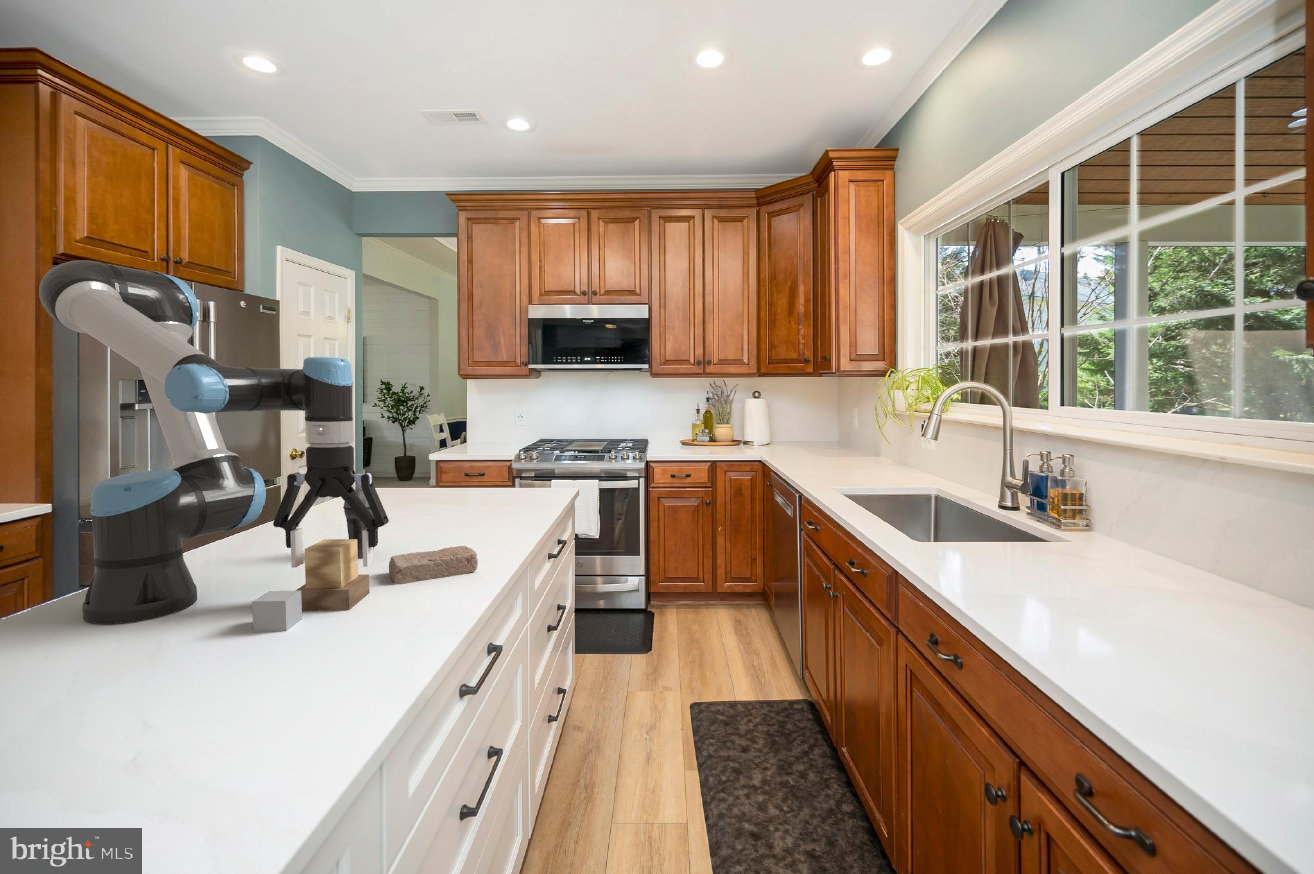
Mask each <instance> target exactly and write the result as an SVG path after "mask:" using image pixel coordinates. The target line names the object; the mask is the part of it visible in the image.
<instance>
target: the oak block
mask: <svg viewBox="0 0 1314 874" xmlns="http://www.w3.org/2000/svg"><path fill="white" fill-rule="evenodd" d="M358 559H359V558H358V548H357V539H349V538H347V539H346V538H345V539H344V538H343V539H341V538H338V539H337V538H336V539H334V538H333V539H332V538H331V539H330V538H329V539H327V538H326V539H322V540H320V541H318V542H316V543H314V544H312V545H310V546H308V547H306V548H304V573H305V576H304V577H305V584H306V588H342V587H343V586H345V585H346V584H348V583H349V582H351V581H352V580H353V579H355V578H356V577H358V575H359V563H358V562H359V561H358Z"/></svg>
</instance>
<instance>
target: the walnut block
mask: <svg viewBox="0 0 1314 874" xmlns="http://www.w3.org/2000/svg"><path fill="white" fill-rule="evenodd" d="M294 591H301V602H302V612H314V611H315V612H317V611H318V612H319V611H325V612H326V611H350V610H351V609H353V608H354V607H355V606H357V605H358V603H360V602H362V600H363V599H365V598H366V597H367V596H369V594H370V592H371V591H370V574H368V573H367V574H365V573H364V574H358V577H356V578H355V579H353V580H352V581H351V582H349V583H348V584H346V585H345V586H343V587H342V588H306V583H304V584H303V585H301V586H300V587H299V588H296V589H295V590H294Z"/></svg>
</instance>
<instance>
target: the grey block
mask: <svg viewBox="0 0 1314 874" xmlns="http://www.w3.org/2000/svg"><path fill="white" fill-rule="evenodd" d="M251 602H252V603H251V608H252V631H253V633H257V632H258V633H259V632H265V633H266V632H287V631H289V630H290V629H291V628H293V627H294V626H296V625H297V624H298V623H300V622H301V621H302V620H303V611H302V602H301V591H295V590H269V591H267V592H266V593H264V594H262V595H260V596H259V597H257V598H255V599H254V600H253V601H251Z"/></svg>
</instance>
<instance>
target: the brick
mask: <svg viewBox="0 0 1314 874" xmlns="http://www.w3.org/2000/svg"><path fill="white" fill-rule="evenodd" d="M477 556H478V553H477V552H476V551H475V550H474V549H473V548H471V547H468V546H467V545H458V546H457V545H456V546H450V547H444V548H441V549H438V550H430V551H429V550H428V551H422V552H421V551H420V552H419V551H417V552H416V551H415V552H410V553H406V554H405V553H403V554H400V555H397V554H396V555H393V556H391V557H390V559H389V563H388V573H389V578H391V580H392V583H393V584H394V585H402V584H411V583H416V582H421V581H428V580H429V581H430V580H434V579H435V580H436V579H441V578H448V577H449V578H451V577H454V576H455V577H456V576H463V575H466V574H469V573H473V572H475V571H477V569H478V565H479V564H478V563H479V561H478V560H479V559H478V557H477Z"/></svg>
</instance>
